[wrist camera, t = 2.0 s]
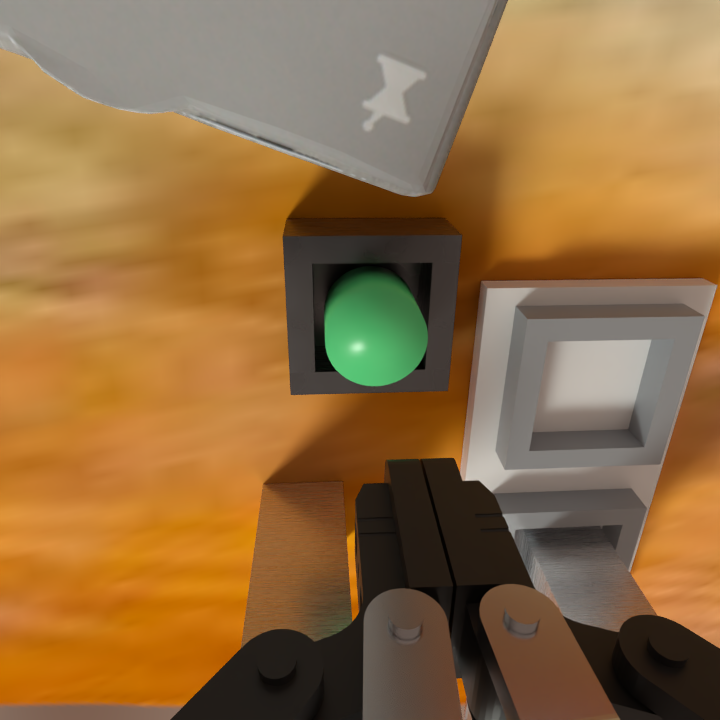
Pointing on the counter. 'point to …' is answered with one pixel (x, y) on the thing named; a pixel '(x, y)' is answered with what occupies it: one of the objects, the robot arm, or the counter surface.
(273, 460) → the counter surface
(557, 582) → the block
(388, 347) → the button
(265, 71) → the skincare box
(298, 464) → the counter surface
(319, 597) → the block
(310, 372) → the button housing
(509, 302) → the grey socket board
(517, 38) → the counter surface
